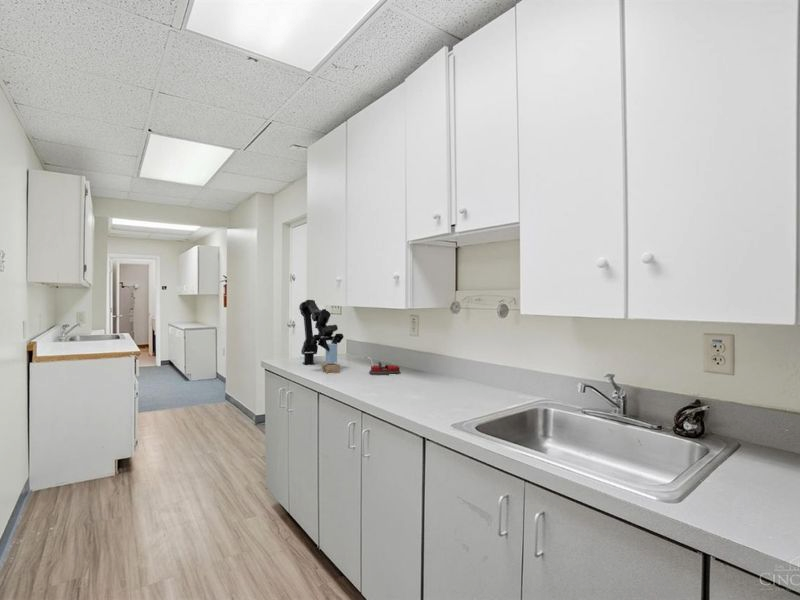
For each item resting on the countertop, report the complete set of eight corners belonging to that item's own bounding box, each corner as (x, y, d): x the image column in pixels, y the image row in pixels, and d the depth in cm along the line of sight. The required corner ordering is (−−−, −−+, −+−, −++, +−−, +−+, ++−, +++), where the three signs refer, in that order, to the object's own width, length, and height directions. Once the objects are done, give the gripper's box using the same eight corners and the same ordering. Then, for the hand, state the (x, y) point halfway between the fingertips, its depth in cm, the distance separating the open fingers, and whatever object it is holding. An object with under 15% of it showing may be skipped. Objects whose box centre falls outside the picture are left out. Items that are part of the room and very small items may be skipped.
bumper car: (402, 375, 234) (402, 357, 234) (367, 376, 228) (367, 357, 228) (397, 372, 244) (397, 354, 244) (363, 373, 238) (363, 355, 238)
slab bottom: (323, 372, 237) (323, 368, 237) (335, 372, 240) (335, 367, 240) (326, 374, 231) (326, 370, 231) (338, 374, 234) (339, 369, 234)
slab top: (322, 368, 236) (322, 364, 236) (332, 367, 241) (332, 363, 241) (328, 370, 231) (328, 365, 231) (339, 369, 235) (339, 364, 235)
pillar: (325, 361, 236) (326, 343, 236) (332, 361, 239) (333, 343, 239) (330, 362, 232) (330, 344, 232) (336, 362, 235) (337, 344, 235)
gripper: (313, 320, 232) (324, 342, 224) (342, 319, 244) (352, 340, 236) (306, 333, 238) (316, 355, 230) (334, 332, 250) (344, 352, 242)
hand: (332, 350), depth 234 cm, fingers closed on pillar, 4 cm apart
